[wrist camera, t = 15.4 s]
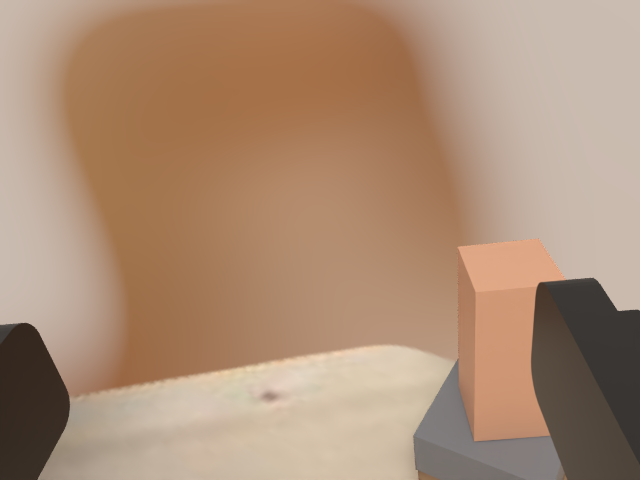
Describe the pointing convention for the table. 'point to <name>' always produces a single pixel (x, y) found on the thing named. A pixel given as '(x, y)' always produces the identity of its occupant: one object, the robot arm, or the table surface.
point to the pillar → (500, 336)
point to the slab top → (477, 446)
